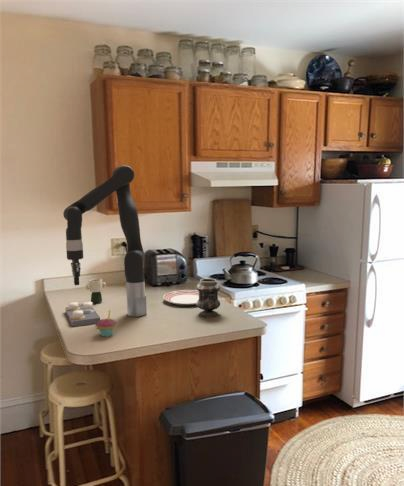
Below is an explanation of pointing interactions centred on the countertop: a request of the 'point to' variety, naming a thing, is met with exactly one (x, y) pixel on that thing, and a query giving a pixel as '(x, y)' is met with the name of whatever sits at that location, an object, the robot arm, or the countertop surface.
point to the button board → (88, 316)
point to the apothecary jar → (208, 297)
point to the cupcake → (106, 326)
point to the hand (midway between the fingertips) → (76, 284)
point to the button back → (73, 305)
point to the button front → (77, 314)
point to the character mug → (96, 289)
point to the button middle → (87, 305)
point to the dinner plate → (182, 297)
